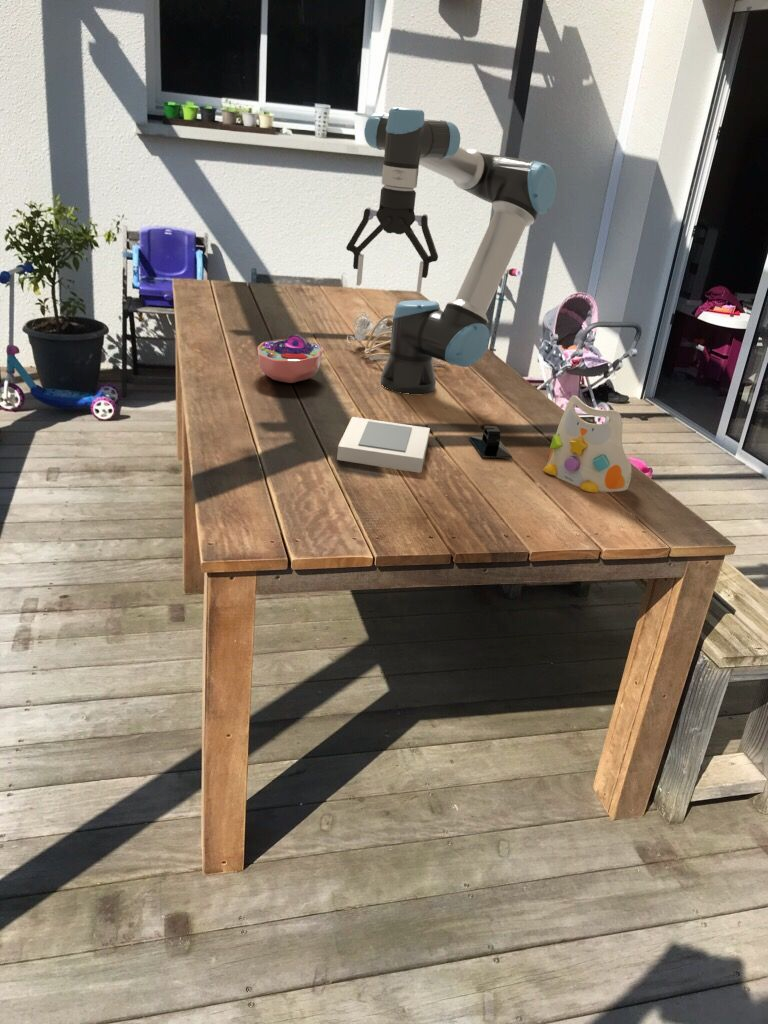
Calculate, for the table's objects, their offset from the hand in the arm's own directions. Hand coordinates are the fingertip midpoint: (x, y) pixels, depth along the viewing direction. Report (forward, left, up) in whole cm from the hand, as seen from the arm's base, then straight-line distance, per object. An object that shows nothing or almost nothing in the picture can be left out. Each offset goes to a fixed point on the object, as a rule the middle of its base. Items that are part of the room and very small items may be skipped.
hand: (388, 288), depth 187 cm
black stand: (+10, +28, -33) cm, 44 cm away
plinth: (+20, +5, -32) cm, 38 cm away
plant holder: (-58, -2, -33) cm, 67 cm away
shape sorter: (+18, +48, -32) cm, 60 cm away
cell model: (-20, -26, -32) cm, 46 cm away
